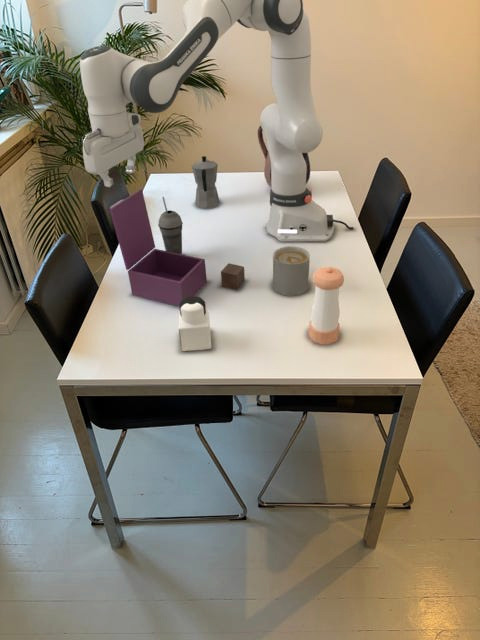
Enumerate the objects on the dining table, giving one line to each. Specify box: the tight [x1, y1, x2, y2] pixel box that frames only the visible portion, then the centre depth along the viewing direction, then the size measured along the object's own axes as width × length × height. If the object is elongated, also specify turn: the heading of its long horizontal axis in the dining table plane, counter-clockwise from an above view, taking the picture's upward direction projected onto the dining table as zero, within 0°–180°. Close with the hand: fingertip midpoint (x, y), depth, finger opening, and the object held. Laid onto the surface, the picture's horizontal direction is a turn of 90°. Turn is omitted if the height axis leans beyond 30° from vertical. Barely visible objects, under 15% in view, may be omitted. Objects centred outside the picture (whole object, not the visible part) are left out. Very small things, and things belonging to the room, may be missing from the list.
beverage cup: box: [157, 196, 184, 254], centre depth 151 cm, size 7×7×20 cm
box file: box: [127, 248, 208, 307], centre depth 140 cm, size 17×14×8 cm
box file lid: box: [109, 188, 156, 271], centre depth 136 cm, size 18×14×5 cm
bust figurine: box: [178, 295, 212, 352], centre depth 119 cm, size 7×7×12 cm
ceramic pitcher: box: [257, 125, 311, 189], centre depth 189 cm, size 18×21×25 cm
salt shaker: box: [308, 266, 345, 345], centre depth 117 cm, size 7×7×19 cm
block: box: [220, 263, 246, 291], centre depth 142 cm, size 5×5×5 cm
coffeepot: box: [191, 155, 221, 210], centre depth 182 cm, size 15×9×18 cm, turn 1°
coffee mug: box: [272, 245, 311, 297], centre depth 140 cm, size 13×10×10 cm
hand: (120, 179), depth 129 cm, fingers open, 8 cm apart
